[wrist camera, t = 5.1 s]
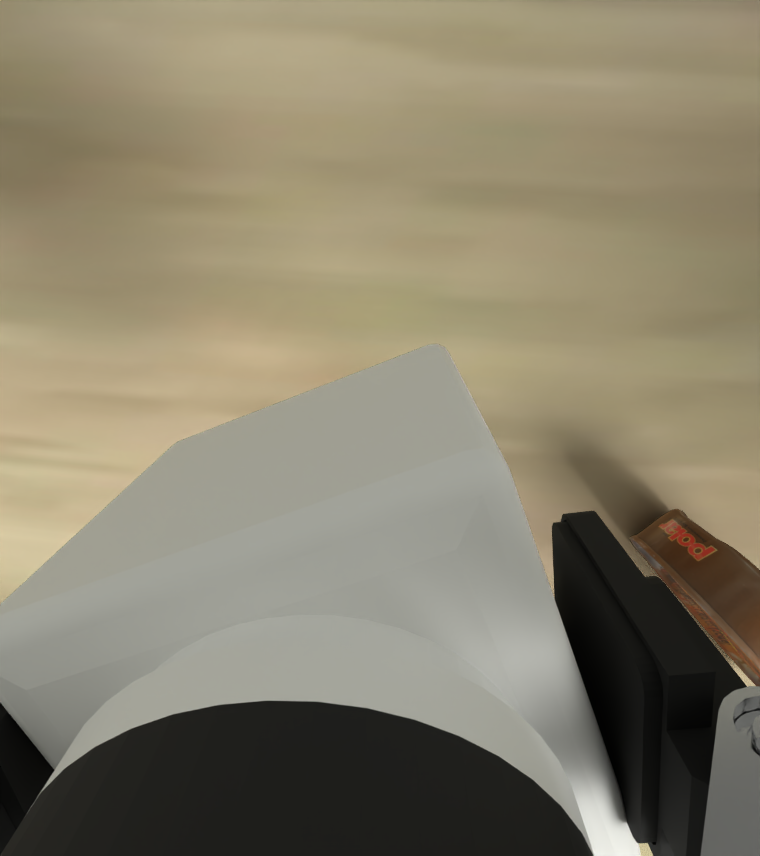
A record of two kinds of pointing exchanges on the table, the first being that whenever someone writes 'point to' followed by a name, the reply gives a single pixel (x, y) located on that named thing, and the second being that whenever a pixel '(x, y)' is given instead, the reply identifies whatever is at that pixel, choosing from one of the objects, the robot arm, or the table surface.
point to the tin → (708, 584)
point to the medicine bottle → (311, 647)
